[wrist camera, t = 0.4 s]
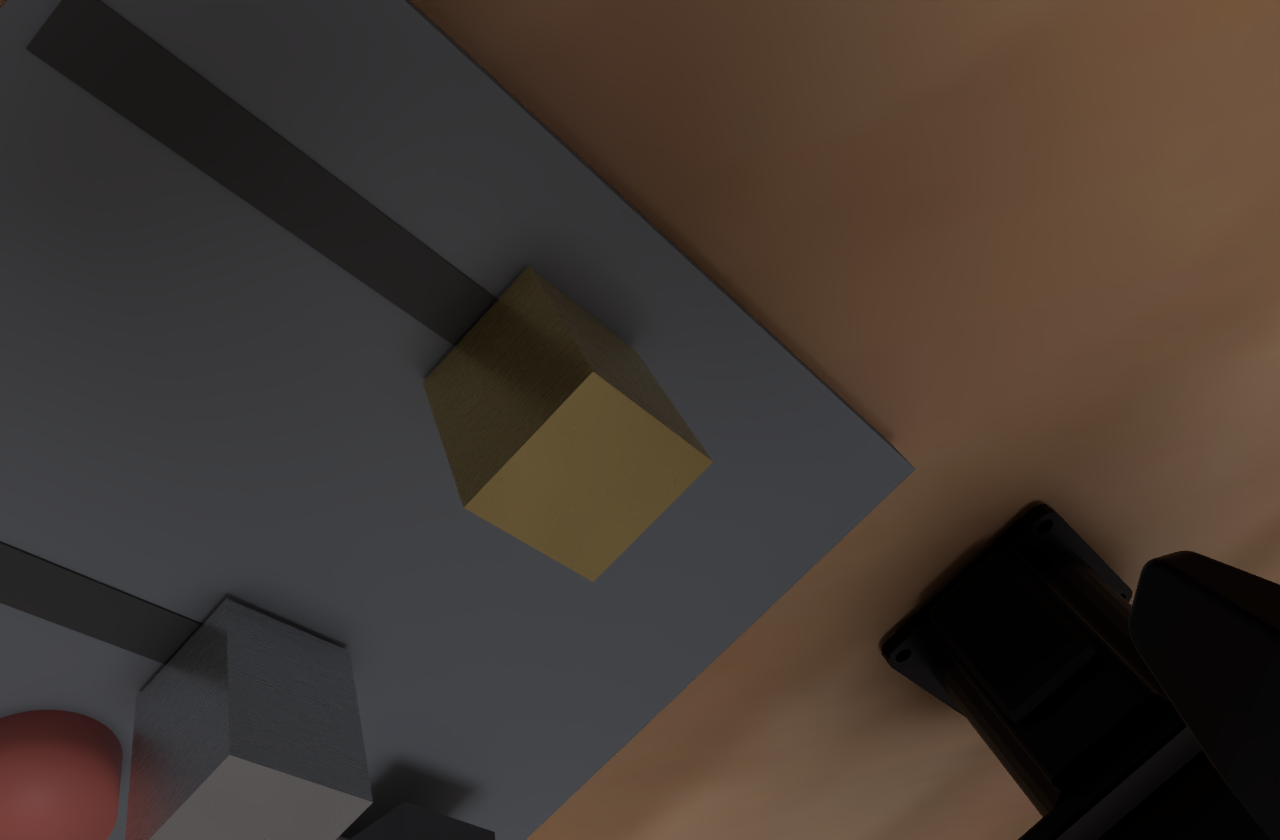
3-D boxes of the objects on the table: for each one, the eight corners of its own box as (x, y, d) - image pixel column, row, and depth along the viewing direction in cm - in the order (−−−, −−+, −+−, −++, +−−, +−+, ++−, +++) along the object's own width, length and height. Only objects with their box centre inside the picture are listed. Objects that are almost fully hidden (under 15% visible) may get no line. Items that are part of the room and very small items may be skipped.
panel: (890, 442, 26) (949, 504, 24) (409, 905, 30) (424, 995, 28) (170, -221, 15) (163, -213, 13) (-487, 669, 18) (-580, 794, 16)
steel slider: (349, 651, 22) (372, 802, 19) (263, 742, 23) (272, 903, 20) (226, 598, 21) (229, 754, 17) (135, 697, 21) (123, 867, 18)
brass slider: (636, 351, 21) (713, 462, 17) (535, 456, 21) (592, 582, 18) (528, 265, 19) (593, 371, 16) (422, 382, 19) (463, 507, 16)
